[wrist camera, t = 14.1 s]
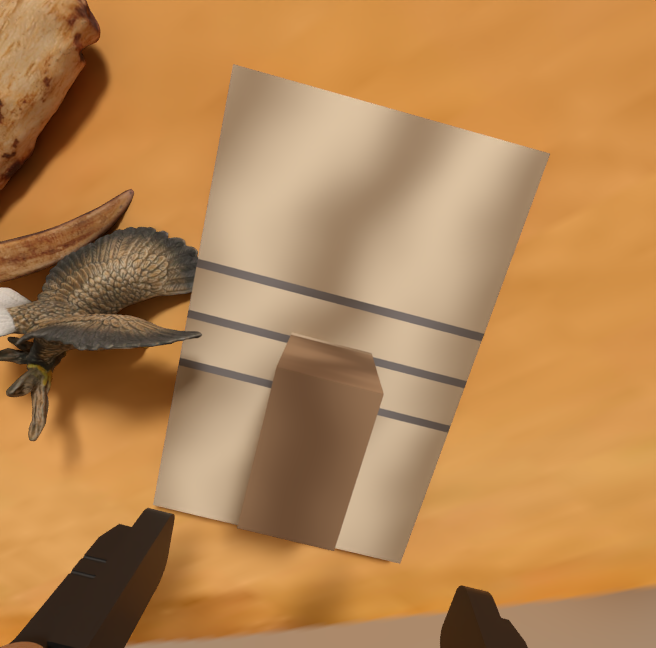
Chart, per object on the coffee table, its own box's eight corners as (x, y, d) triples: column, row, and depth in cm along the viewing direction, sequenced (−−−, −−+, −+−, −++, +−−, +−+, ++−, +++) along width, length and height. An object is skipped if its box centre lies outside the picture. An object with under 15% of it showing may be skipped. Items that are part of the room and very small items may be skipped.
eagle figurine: (117, 434, 20) (243, 353, 17) (-66, 451, 14) (83, 328, 11) (93, 312, 23) (199, 224, 20) (-68, 280, 17) (51, 147, 14)
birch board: (535, 158, 18) (549, 153, 17) (396, 546, 23) (400, 563, 22) (240, 75, 17) (233, 64, 16) (162, 490, 22) (153, 505, 21)
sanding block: (371, 353, 19) (383, 394, 14) (334, 475, 20) (333, 551, 16) (291, 332, 19) (276, 366, 14) (260, 457, 20) (237, 527, 15)
